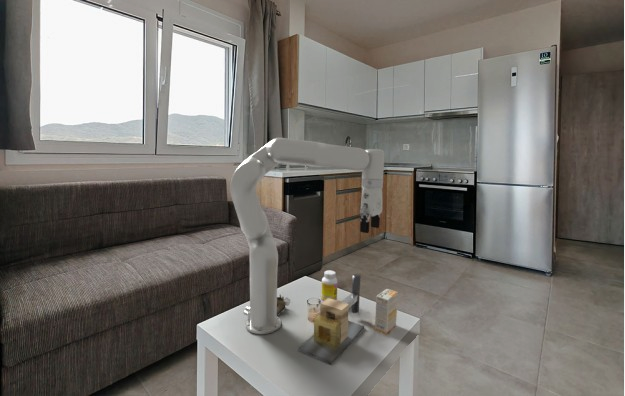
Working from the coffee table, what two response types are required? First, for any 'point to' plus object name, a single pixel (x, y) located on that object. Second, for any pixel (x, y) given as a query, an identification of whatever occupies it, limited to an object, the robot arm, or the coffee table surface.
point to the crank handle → (353, 295)
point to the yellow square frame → (324, 339)
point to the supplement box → (386, 310)
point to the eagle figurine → (282, 304)
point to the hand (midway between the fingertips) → (369, 229)
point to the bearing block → (346, 332)
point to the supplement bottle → (329, 286)
